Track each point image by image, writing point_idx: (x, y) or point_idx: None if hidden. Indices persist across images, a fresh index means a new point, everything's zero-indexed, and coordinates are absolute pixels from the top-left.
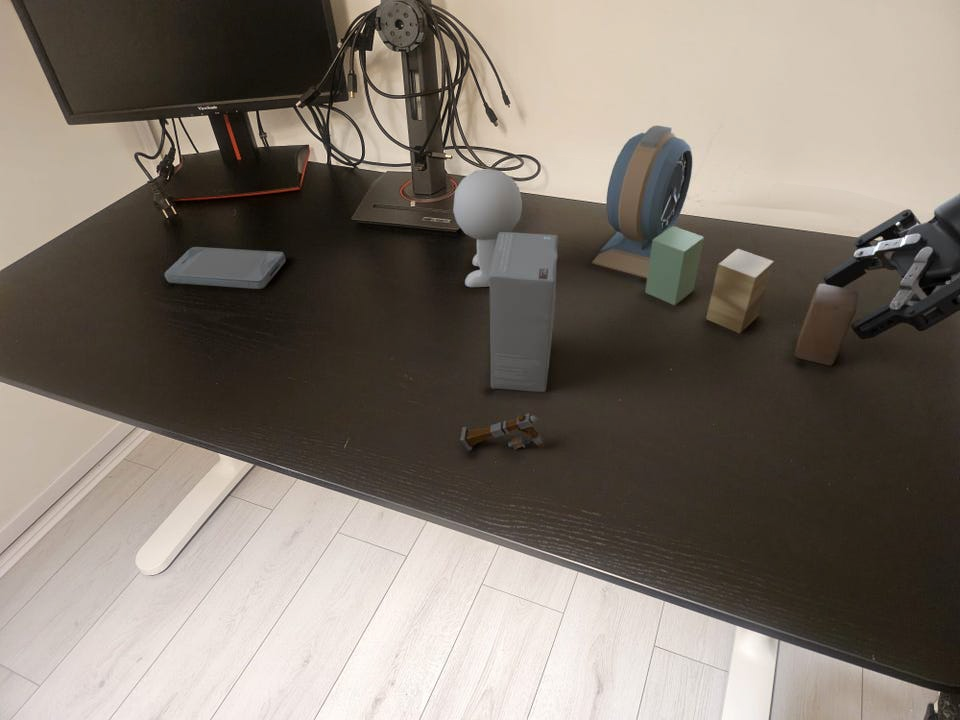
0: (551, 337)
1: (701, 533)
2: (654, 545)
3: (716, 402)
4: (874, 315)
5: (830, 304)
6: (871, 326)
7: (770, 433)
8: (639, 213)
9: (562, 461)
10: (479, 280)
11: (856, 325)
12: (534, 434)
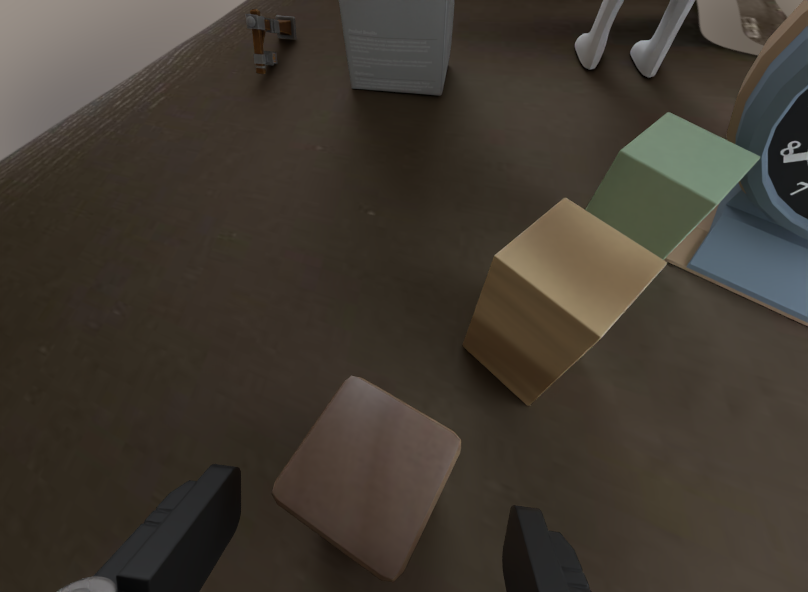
0: (366, 9)
1: (72, 177)
2: (86, 138)
3: (279, 251)
4: (165, 520)
5: (323, 415)
6: (161, 507)
7: (183, 304)
8: (761, 67)
9: (236, 91)
10: (581, 40)
11: (210, 469)
12: (254, 48)
